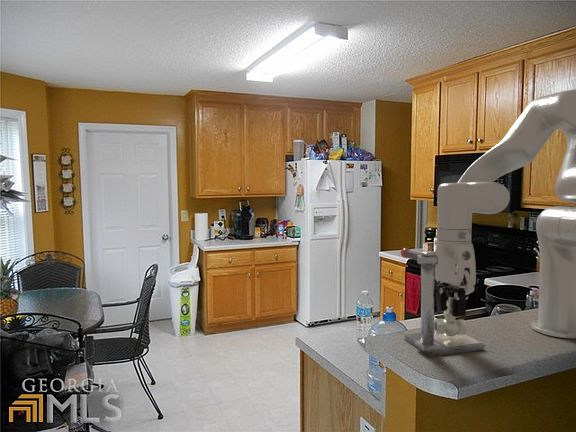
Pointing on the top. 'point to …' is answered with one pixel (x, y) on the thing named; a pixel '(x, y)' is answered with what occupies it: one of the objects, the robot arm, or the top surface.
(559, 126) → the robot arm
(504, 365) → the top surface
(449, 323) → the valve
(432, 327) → the press
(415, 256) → the lever
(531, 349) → the top surface
